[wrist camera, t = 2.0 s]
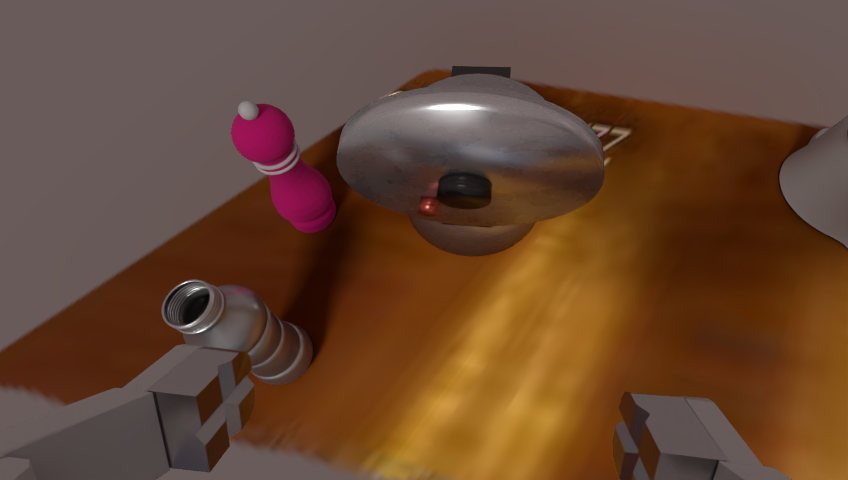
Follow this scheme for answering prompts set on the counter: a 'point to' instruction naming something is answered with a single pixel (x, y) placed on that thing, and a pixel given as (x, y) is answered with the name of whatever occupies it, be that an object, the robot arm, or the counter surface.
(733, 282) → the counter surface
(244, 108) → the pepper mill
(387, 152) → the cooker lid
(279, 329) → the silver metal bottle
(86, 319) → the counter surface
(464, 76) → the cooker pot
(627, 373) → the counter surface
